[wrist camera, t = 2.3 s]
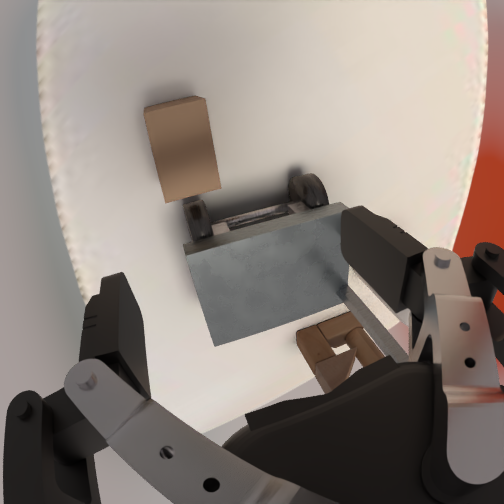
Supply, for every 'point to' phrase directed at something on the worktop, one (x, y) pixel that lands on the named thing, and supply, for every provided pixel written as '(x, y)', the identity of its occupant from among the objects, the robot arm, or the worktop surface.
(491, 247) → the robot arm
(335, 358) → the wooden block
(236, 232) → the trolley
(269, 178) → the worktop surface
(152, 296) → the worktop surface
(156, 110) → the block
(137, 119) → the worktop surface
